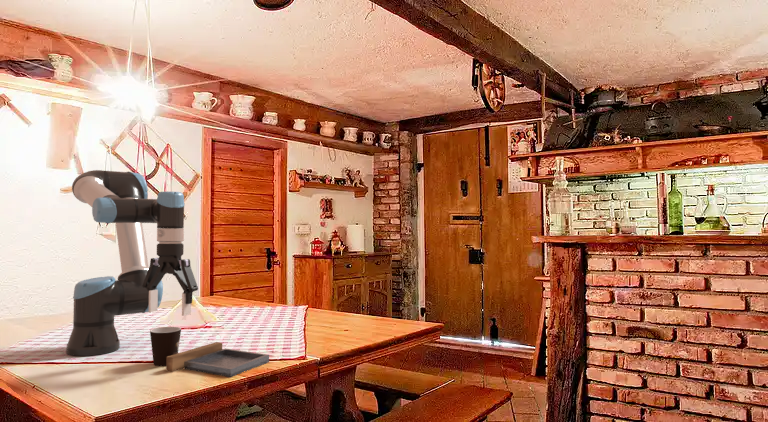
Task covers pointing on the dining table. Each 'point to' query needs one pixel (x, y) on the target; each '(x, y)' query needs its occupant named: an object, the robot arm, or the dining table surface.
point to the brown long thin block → (190, 356)
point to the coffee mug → (164, 343)
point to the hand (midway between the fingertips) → (169, 313)
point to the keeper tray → (226, 362)
